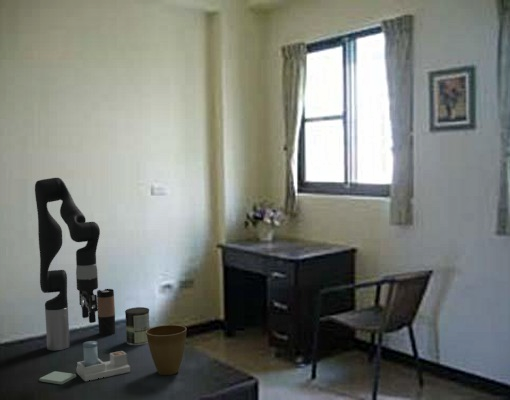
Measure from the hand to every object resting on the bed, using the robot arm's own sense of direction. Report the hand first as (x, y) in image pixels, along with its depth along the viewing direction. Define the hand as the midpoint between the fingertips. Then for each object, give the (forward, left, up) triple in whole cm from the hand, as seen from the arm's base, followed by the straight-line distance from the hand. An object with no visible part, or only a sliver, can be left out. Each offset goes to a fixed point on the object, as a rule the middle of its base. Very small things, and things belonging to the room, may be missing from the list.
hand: (88, 320), depth 228 cm
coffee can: (-29, +30, -21) cm, 46 cm away
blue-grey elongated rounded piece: (0, 0, -19) cm, 19 cm away
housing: (0, +5, -21) cm, 21 cm away
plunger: (0, +11, -18) cm, 21 cm away
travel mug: (-50, +23, -21) cm, 59 cm away
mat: (-3, -11, -21) cm, 24 cm away
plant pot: (+14, +25, -21) cm, 35 cm away
